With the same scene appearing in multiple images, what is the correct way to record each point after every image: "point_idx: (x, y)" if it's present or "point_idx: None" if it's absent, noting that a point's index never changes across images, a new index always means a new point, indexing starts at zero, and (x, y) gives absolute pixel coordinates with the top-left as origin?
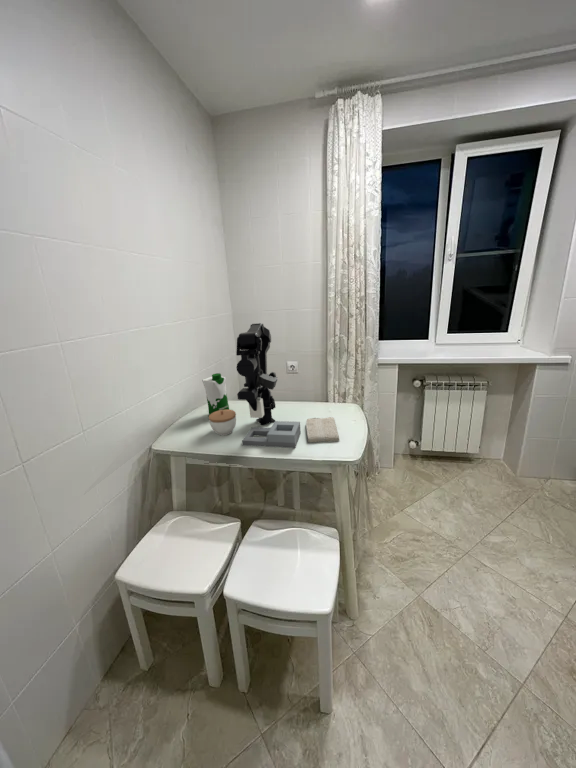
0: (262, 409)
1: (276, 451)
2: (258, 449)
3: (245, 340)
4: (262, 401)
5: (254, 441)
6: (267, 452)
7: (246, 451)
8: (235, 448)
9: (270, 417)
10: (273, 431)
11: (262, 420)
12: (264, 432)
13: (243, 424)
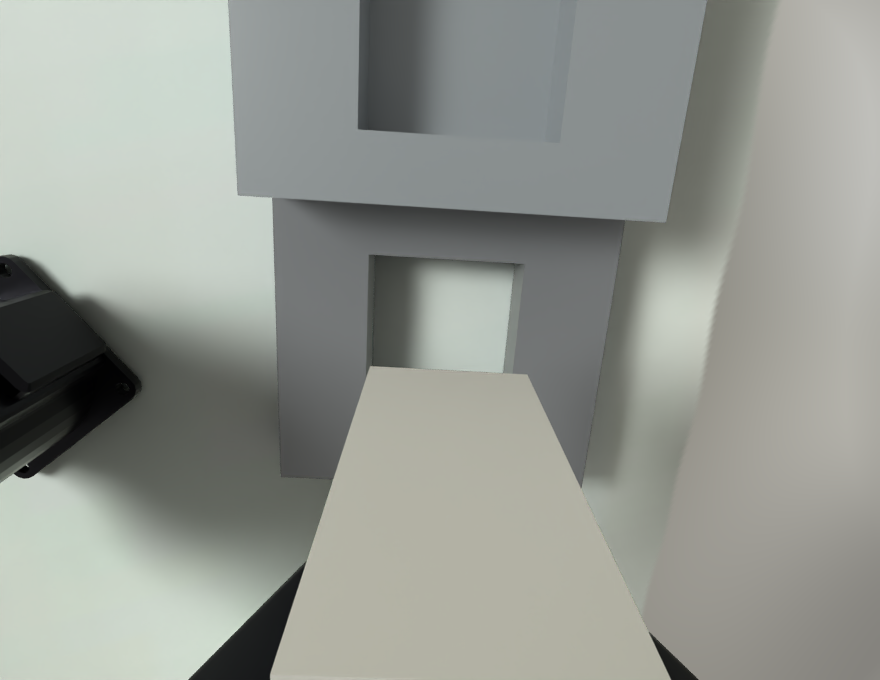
0: (459, 438)
1: (710, 100)
2: (650, 301)
3: None
4: (361, 579)
5: (600, 367)
6: (718, 196)
7: (675, 402)
8: (614, 506)
9: (17, 313)
10: (587, 146)
11: (75, 401)
12: (368, 310)
13: (149, 567)
